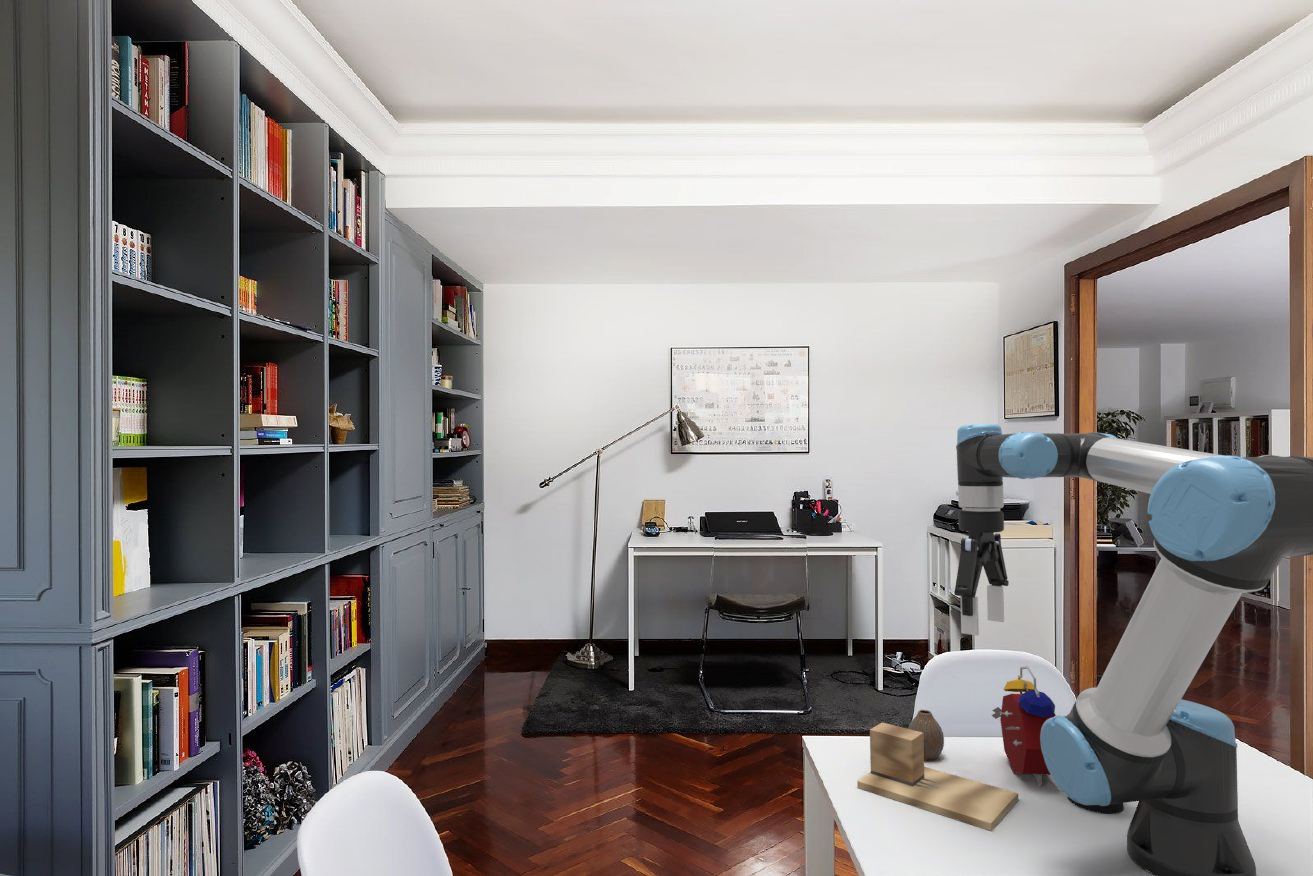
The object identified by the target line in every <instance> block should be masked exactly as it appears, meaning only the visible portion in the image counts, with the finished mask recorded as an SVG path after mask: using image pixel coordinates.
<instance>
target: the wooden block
mask: <svg viewBox="0 0 1313 876" xmlns="http://www.w3.org/2000/svg"><path fill="white" fill-rule="evenodd" d="M869 742H870V743H869V744H870V745H869V750H870V751H869V752H870V753H869V754H870V756H869V757H870V758H869V759H870V772H871V774H874V775H877V776H880V777H884V778H887V779H890V780H894V781H897V782H900V783H903V784H907V785H910V786H914V785H915V784H917V783H918V782H919V781H920V780H922V779H923V778H924V767H925V760H924V736H923V733H922V732H918V731H914V730H910V729H908V728H906V727H903V726H898V725H894V724H890V723H886V722H881V723H879V724H877V725H876V726H874V727H872V728H870V729H869Z"/></svg>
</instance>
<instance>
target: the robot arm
mask: <svg viewBox="0 0 1313 876" xmlns="http://www.w3.org/2000/svg"><path fill="white" fill-rule="evenodd" d="M956 431H957V432H956V433H957V436H956V438H957V439H956V442H957V443H956V445H955V450H956V465H957V466H956V467H957V468H956V470H957V490H956V491H955V495H956V496H958V497H957V499H958V500H957V501H958V507H959V508H961V509H960V510H959V511H958V529H959V530H960V531H962V532H967V533H968V538H963V537H962V538H961V540H960V555H959V561H958V568H957V574H956V578H955V587H954V595H955V596H959V597H960V599H959V600H960V633H961V634H964V635H971V636H972V635H973V636H979V635H980V633H979V631H980V630H979V629H980V627H979V597H978V596H976V594H977V591H978V586H979V582H980V577H981V574H982V570H983V569H984V573H985V575H986V578H987V581H988V584H987V585H986V602H987V604H986V605H987V621H990V622H991V621H992V622H996V623H997V622H999V623H1004V622H1005V608H1004V607H1005V606H1004V605H1005V604H1004V603H1005V602H1004V600H1005V598H1004V597H1005V595H1004V594H1005V593H1004V587H1008V586H1009V580H1008V575H1007V569H1006V564H1005V559H1004V552H1003V548H1002V541H1001V540H1002V538H1001V537H1002V536H1001V534H1000V533H1002V532H1004V530H1005V521H1004V520H1005V518H1004V517H1005V515H1004V512H1003V511H1002V510H1001V509H1003V507H1004V506H1005V503H1004V502H1005V501H1004V481H1003V480H1004V479H1003V478H1010V479H1011V478H1012V479H1017V478H1018V479H1020V480H1026V479H1028V480H1030V479H1031V480H1032V479H1039V478H1082V479H1086V480H1089V481H1090V480H1091V481H1095V482H1098V483H1099V482H1100V483H1105V484H1108V485H1113V486H1116V487H1117V486H1118V487H1120V488H1125V489H1129V490H1133V491H1137V492H1141V493H1145V494H1150V495H1149V498H1148V503H1147V514H1148V515H1151V520H1148V525H1149V528H1150V530H1151V533H1152V535H1153V537H1154V538H1153V539H1154V540H1153V547H1154V550H1155V551H1156V553H1157V554H1158V556H1159V557H1160V560H1159V563H1158V564H1157V566H1156V568H1155V569H1154V572H1153V574H1152V577H1151V578H1150V581H1149V582H1148V584H1147V586H1146V589H1145V590H1144V591H1143V594H1142V596H1141V598H1140V600H1139V603H1138V604H1137V606H1136V608H1135V610H1134V612H1133V615H1132V616H1131V618H1130V620H1129V622H1128V624H1127V626H1126V628H1125V631H1124V632H1123V634H1122V637H1121V638H1120V640H1119V643H1118V645H1117V647H1116V649H1115V651H1114V653H1113V655H1112V657H1111V659H1110V661H1109V662H1108V664H1107V666H1106V668H1105V671H1104V672H1103V674H1102V676H1101V678H1100V681H1099V683H1098V685H1097V687H1089V688H1085V689H1084V690H1082V691H1081V692H1080V693H1079V695H1078V696H1077V697H1076V700H1075V702H1074V704H1073V705H1072V707H1071V709H1070V711H1069V713H1068V714H1067V715H1064V716H1063V715H1061V714H1060V715H1056V716H1054V717H1053V718H1049V719H1047V720H1046V721H1045V722H1044V724H1043V726H1042V729H1041V734H1040V743H1041V750H1042V754H1043V756H1044V760H1045V763H1046V766H1047V768H1048V770H1049V772H1050V774H1051V775H1050V776H1051V778H1052V780H1053V781H1054V783H1055V784H1056V785H1057V787H1058V788H1059V789H1060V791H1062V792H1063V793H1064V794H1065V795H1066V796H1068V797H1069V798H1071V799H1072V800H1074V801H1075V802H1077V803H1081V804H1083V805H1100V806H1107V805H1110V804H1118V803H1124V804H1125V803H1133V802H1137V805H1136V808H1135V810H1134V813H1133V815H1132V819H1131V821H1130V824H1129V827H1128V828H1127V832H1126V852H1127V854H1128V856H1129V857H1130V858H1131V859H1132V860H1133V862H1135V863H1136V864H1137V865H1138V866H1139V867H1141V868H1142V869H1144V870H1145V871H1147V872H1149V873H1151V874H1152V875H1154V876H1257V868H1256V867H1257V866H1256V862H1255V860H1254V858H1253V854H1252V852H1251V850H1250V848H1249V844H1248V843H1247V839H1246V838H1245V835H1244V832H1243V829H1242V827H1241V825H1240V822H1239V807H1238V803H1239V800H1238V799H1239V797H1238V793H1239V792H1238V757H1237V756H1238V755H1237V750H1238V749H1237V748H1238V743H1237V741H1236V734H1235V733H1236V732H1235V726H1234V723H1233V721H1232V719H1231V718H1230V717H1229V716H1228V715H1226V713H1223V712H1221V711H1219V710H1217V709H1214V708H1212V707H1210V706H1207V705H1204V704H1200V703H1197V702H1195V701H1194V702H1193V701H1190V700H1185V699H1183V697H1184V695H1185V694H1186V692H1187V691H1188V690H1187V689H1188V688H1189V687H1190V685H1191V683H1192V681H1193V680H1194V677H1195V676H1196V674H1197V673H1198V670H1199V669H1200V667H1201V665H1202V664H1203V662H1204V660H1205V659H1206V657H1207V655H1208V653H1209V651H1210V650H1211V648H1212V647H1213V644H1214V643H1215V641H1216V640H1217V638H1218V636H1219V634H1220V633H1221V631H1222V629H1223V628H1224V625H1226V623H1227V620H1228V619H1229V617H1230V616H1231V614H1232V612H1233V611H1234V608H1235V607H1236V605H1237V603H1238V602H1239V600H1240V598H1241V596H1242V595H1243V594H1245V593H1253V592H1258V591H1261V590H1263V589H1265V587H1267V585H1268V583H1269V582H1270V580H1271V578H1272V576H1273V575H1274V574H1275V572H1276V570H1277V568H1278V567H1279V565H1280V563H1281V562H1282V560H1283V559H1284V558H1285V557H1286V558H1287V557H1288V558H1289V557H1303V556H1304V557H1306V556H1313V457H1312V456H1302V455H1301V456H1298V455H1297V456H1291V455H1290V456H1280V455H1272V454H1271V455H1270V454H1265V455H1261V456H1255V457H1254V456H1250V457H1249V456H1247V457H1245V456H1244V457H1243V456H1242V457H1241V456H1236V455H1235V456H1234V455H1223V454H1218V453H1217V454H1216V453H1212V452H1211V453H1210V452H1204V451H1199V450H1198V451H1196V450H1191V449H1187V448H1186V449H1185V448H1179V447H1172V446H1167V445H1166V446H1165V445H1160V444H1153V443H1148V442H1142V441H1136V440H1130V439H1123V438H1118V437H1117V436H1115V435H1114V434H1110V433H1102V432H1094V431H1093V432H1086V433H1081V432H1079V433H1058V432H1057V433H1055V432H1054V433H1053V432H1052V433H1048V432H1047V433H1046V432H1045V433H1044V432H1041V433H1040V432H1033V431H1027V432H1025V431H1022V432H1021V431H1020V432H1018V431H1017V432H1016V433H1015V432H1014V433H1005V434H1003V432H1002V427H1001V426H1000V425H999V424H996V423H995V424H994V423H990V424H989V423H981V424H980V423H978V424H964V425H961V426H959V428H958V429H957V430H956ZM1068 797H1067V798H1068Z"/></svg>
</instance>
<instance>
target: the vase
mask: <svg viewBox="0 0 1313 876" xmlns="http://www.w3.org/2000/svg"><path fill="white" fill-rule="evenodd" d="M907 729H910V730H914V731H918V732H922V733H923V736H924V761H925V760H927V761H931V760H932V761H934V760H936V759H937V758H938V757H940V755H941V754H942V752H943V749H944V746H945V736H944V732H943V729H942V727H941V725H940V723H939V722H938V721H937V720H936V719H935V716H934V715H933V713H932V711H931V710H928V709H920V710H918V712H917V714H916V715H915V717H914V718H912V720H911V721H910V722H909V724H908V728H907Z"/></svg>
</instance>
